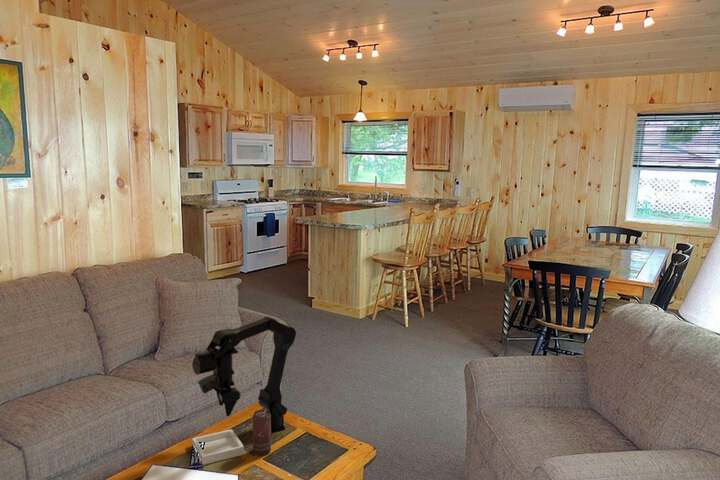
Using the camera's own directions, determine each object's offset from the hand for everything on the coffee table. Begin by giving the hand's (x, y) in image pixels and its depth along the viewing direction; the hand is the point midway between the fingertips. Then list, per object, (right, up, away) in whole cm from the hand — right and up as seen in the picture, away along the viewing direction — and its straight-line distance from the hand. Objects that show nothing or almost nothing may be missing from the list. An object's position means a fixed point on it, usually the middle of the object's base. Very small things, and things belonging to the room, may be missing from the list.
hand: (224, 410), depth 182 cm
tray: (-2, -13, -1) cm, 13 cm away
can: (+13, -14, -2) cm, 19 cm away
